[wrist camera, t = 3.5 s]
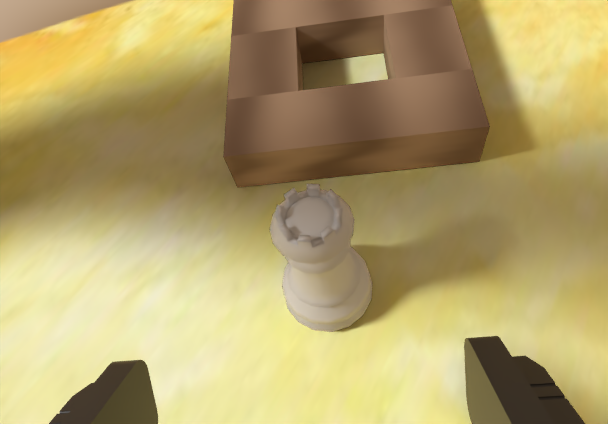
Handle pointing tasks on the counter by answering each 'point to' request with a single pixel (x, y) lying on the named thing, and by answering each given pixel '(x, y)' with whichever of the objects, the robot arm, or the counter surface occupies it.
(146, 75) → the counter surface
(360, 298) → the rook chess piece
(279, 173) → the socket board
